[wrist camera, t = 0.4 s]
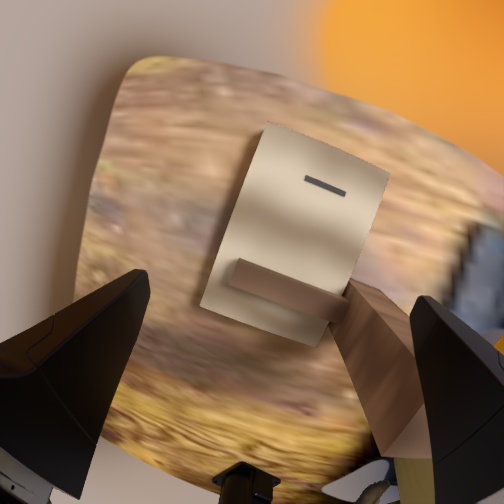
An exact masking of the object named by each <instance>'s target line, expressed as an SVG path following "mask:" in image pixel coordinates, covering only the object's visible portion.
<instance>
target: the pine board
mask: <svg viewBox="0 0 504 504" xmlns="http://www.w3.org/2000/svg"><path fill="white" fill-rule="evenodd" d="M389 176H390V173H389V172H387V171H385V170H383V169H381V168H379V167H377V166H375V165H373V164H371V163H369V162H367V161H365V160H362V159H360V158H358V157H356V156H354V155H352V154H349V153H347V152H345V151H343V150H340V149H338V148H336V147H334V146H331V145H329V144H327V143H324V142H322V141H319V140H317V139H314V138H312V137H309V136H307V135H304V134H302V133H299V132H297V131H294V130H291V129H289V128H286V127H283V126H281V125H278V124H275V123H272V122H269V121H267V124H266V126H265V129H264V131H263V134H262V136H261V139H260V142H259V144H258V147H257V149H256V152H255V154H254V157H253V160H252V162H251V165H250V167H249V170H248V173H247V175H246V178H245V181H244V183H243V186H242V188H241V191H240V194H239V197H238V199H237V202H236V205H235V207H234V210H233V213H232V215H231V218H230V221H229V224H228V226H227V229H226V232H225V235H224V237H223V240H222V243H221V246H220V249H219V251H218V254H217V257H216V260H215V263H214V265H213V268H212V271H211V274H210V277H209V280H208V283H207V286H206V288H205V291H204V294H203V297H202V300H201V303H200V306H201V307H203V308H206V309H208V310H211V311H213V312H216V313H219V314H221V315H224V316H226V317H229V318H232V319H234V320H237V321H240V322H243V323H245V324H248V325H251V326H254V327H256V328H259V329H262V330H265V331H268V332H270V333H273V334H276V335H279V336H282V337H285V338H288V339H291V340H294V341H297V342H300V343H303V344H306V345H309V346H312V347H315V348H316V347H317V345H318V343H319V341H320V339H321V337H322V335H323V333H324V331H325V329H326V327H327V325H328V323H329V321H327V320H324V319H322V318H319V317H316V316H313V315H310V314H307V313H304V312H302V311H299V310H296V309H293V308H290V307H288V306H285V305H282V304H279V303H277V302H274V301H271V300H268V299H266V298H263V297H260V296H257V295H255V294H252V293H249V292H247V291H244V290H241V289H239V288H236V287H234V286H231V285H229V282H230V279H231V277H232V274H233V271H234V268H235V266H236V263H237V261H238V259H239V258H241V259H244V260H247V261H249V262H252V263H254V264H257V265H260V266H262V267H265V268H268V269H270V270H273V271H276V272H278V273H281V274H284V275H286V276H289V277H292V278H294V279H297V280H300V281H302V282H305V283H308V284H310V285H313V286H316V287H318V288H321V289H324V290H326V291H329V292H332V293H334V294H337V295H340V296H342V294H343V292H344V289H345V287H346V285H347V283H348V281H349V278H350V276H351V274H352V272H353V269H354V267H355V265H356V262H357V260H358V258H359V255H360V253H361V250H362V248H363V246H364V243H365V241H366V238H367V236H368V233H369V231H370V228H371V226H372V223H373V220H374V218H375V215H376V212H377V210H378V207H379V204H380V202H381V199H382V196H383V193H384V191H385V188H386V185H387V182H388V179H389Z"/></svg>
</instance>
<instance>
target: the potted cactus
mask: <svg viewBox="0 0 504 504" xmlns="http://www.w3.org/2000/svg"><path fill="white" fill-rule="evenodd" d="M394 466H395V472H396V477H397V483H398V490H399V496H400V503H401V504H435V491H434V476H433V463H432V459H428V458H398V457H394Z"/></svg>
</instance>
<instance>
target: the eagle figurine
mask: <svg viewBox="0 0 504 504" xmlns="http://www.w3.org/2000/svg"><path fill="white" fill-rule="evenodd" d="M388 481H389V480H383V481H379V482H377V483H376V482H375V483H374V484H371V485H369V486H368V487H367V488H366V489H365V490H364V491H363V492H362V494H361V495H360V498H358V500H357V501H356V502H354V503H353V504H379V502H380V500H379V498H380V497H381V495H382V494H383V493H384V492H385V491H386V490H387V489H388V488H389V487H390V485H391V484H390V482H388ZM388 504H401V503H400V500H398V501H395V502H392V503H388Z"/></svg>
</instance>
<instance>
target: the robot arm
mask: <svg viewBox="0 0 504 504" xmlns="http://www.w3.org/2000/svg"><path fill="white" fill-rule="evenodd" d="M149 299H150V285H149V279H148V274H147V272H146V271H145V270H140V269H134V270H132V271H130V272H128V273H126V274H124V275H122V276H121V277H119V278H117V279H115V280H113V281H112V282H110V283H108V284H106V285H104V286H103V287H101V288H99V289H97V290H95V291H94V292H92V293H90V294H88V295H87V296H85V297H83V298H81V299H80V300H78V301H76V302H74V303H73V304H71V305H69V306H68V307H66V308H64V309H63V310H61V311H59V312H57V313H55V315H52V316H50V317H49V318H47V319H46V320H43V321H42V322H40V323H38V324H36V325H35V326H33V327H31V328H29V329H27V330H25V331H23V332H21V333H19V334H17V335H15V336H13V337H11V338H10V339H7V340H6V341H4V342H2V343H0V504H52V503H51V501H50V499H49V498H50V495H51V492H52V489H53V487H54V488H55V489H57V490H60V491H61V492H63V493H65V494H67V495H69V496H71V497H74V498H76V499H78V500H79V499H80V497H81V494H82V490H83V487H84V484H85V480H86V477H87V474H88V470H89V467H90V464H91V461H92V458H93V455H94V452H95V448H96V444H97V442H98V439H99V436H100V433H101V431H102V428H103V425H104V422H105V419H106V416H107V414H108V411H109V408H110V405H111V403H112V400H113V397H114V395H115V392H116V389H117V387H118V384H119V382H120V379H121V377H122V374H123V372H124V369H125V367H126V364H127V362H128V359H129V357H130V354H131V352H132V349H133V347H134V345H135V342H136V340H137V337H138V335H139V331H140V328H141V325H142V321H143V318H144V315H145V311H146V308H147V305H148V302H149ZM409 320H410V327H411V333H412V340H413V348H414V355H415V360H416V365H417V370H418V374H419V379H420V384H421V389H422V394H423V399H424V405H425V410H426V417H427V423H428V430H429V437H430V445H431V453H432V463H433V476H434V491H435V504H504V355H503V354H502V353H501V352H500V351H497V349H496V348H495V347H494V346H492V345H491V344H490V343H489V342H488V341H486V340H485V339H484V338H483V337H482V336H480V335H479V334H478V333H477V332H476V331H474V330H473V329H472V328H471V327H469V326H468V325H467V324H466V323H464V322H463V321H462V320H461V319H459V318H458V317H457V316H455V315H454V314H453V313H452V312H450V311H449V310H448V309H446V308H445V307H444V306H443V305H441V304H440V303H439V302H437V301H436V300H435V299H433V298H432V297H431V296H424V295H421V296H419V297H418V298H417V300H416V302H415V304H414V307H413V309H412V311H411V313H410V318H409ZM212 482H213V483H214V484H216V485H218V486H221V492H220V498H219V503H218V504H271V501H272V500H273V487H275V486H277V485H278V484H280V483H281V480H280V479H278V478H276V477H274V476H272V475H270V474H268V473H266V472H263V471H261V470H259V469H257V468H255V467H253V466H251V465H249V464H247V463H245V462H240V463H239V464H237V465H235V466H234V467H232V468H230V469H229V470H227V471H225V472H223V473H222V474H220V475H218V476H216V477H215V478H213V480H212Z"/></svg>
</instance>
